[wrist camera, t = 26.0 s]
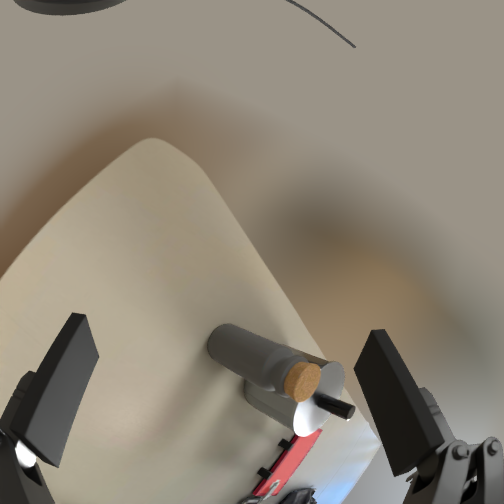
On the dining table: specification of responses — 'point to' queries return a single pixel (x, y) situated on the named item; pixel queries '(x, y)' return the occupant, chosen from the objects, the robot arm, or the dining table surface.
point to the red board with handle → (283, 467)
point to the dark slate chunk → (300, 497)
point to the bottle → (264, 362)
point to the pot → (276, 395)
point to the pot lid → (322, 402)
